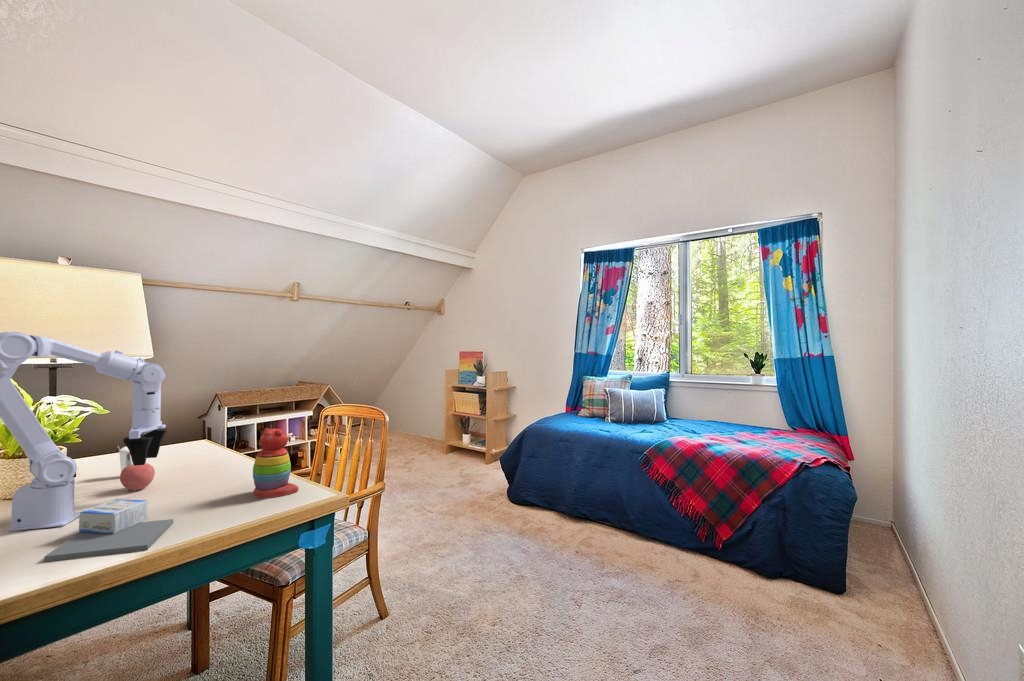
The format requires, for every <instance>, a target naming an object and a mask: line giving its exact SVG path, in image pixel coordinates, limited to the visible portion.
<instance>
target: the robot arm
mask: <svg viewBox="0 0 1024 681" xmlns="http://www.w3.org/2000/svg"><path fill="white" fill-rule="evenodd" d="M48 356H53V357H56V358H57V357H58V358H61V359H66V360H68V361H69V360H70V361H74V362H78V363H81V364H82V363H83V364H85V365H90V366H93V367H94V369H95V370H96V372H97V373H98V374H102V375H106V376H110V377H113V378H116V379H121V380H125V381H127V382H128V381H131V382H133V388H132V389H133V390H132V414H131V415H132V418H131V420H132V423H131V424H132V425H131V427H130V430H129V431H128V436H126V437H124V438H123V443H124V444H125V447H127V448H128V449H129V451H130V454H131V458H132V461H133V464H134V466H136V465H144V464H145V463H147V459H153V458H154V459H156V458H157V457H158V456H159V451H160V449H161V445H162V441H163V439H164V437H165V435H166V434H167V432H168V429H166V427H167V426H166V424H163V421H162V420H161V417H162V414H161V412H162V411H161V409H162V407H161V405H162V382H163V381H164V380H165V378H166V376H167V374H166V373H165V371H164V368H163V367H161V365H159V364H157V363H154V362H153V363H152V362H147V361H145V359H144V358H142V357H139V358H134V357H133V356H129V355H126V354H124V351H120V350H115V351H112V350H108V351H105V352H102V353H99V352H95V351H92V350H89V349H87V348H86V349H85V348H83V347H80V346H76V345H74V344H70V343H67V342H64V341H61V340H59V339H58V340H57V339H55V338H51V337H44V336H41V335H33V334H26V333H25V332H21V331H19V332H18V331H3V332H0V419H1V421H2V422H3V423H4V425H5V427H6V428H7V430H9V433H11V435H12V436H13V437H14V439H15V441H16V442H17V443H18V445H19V446H20V447H21V449H22V450H23V453H24V455H25V456H26V458H27V459H28V461H29V464H28V465H29V466H28V469H29V471H30V473H31V475H33V476H34V478H33V479H32V481H31V482H29V484H25V485H22V486H19V487H18V488H17V489H16V490H15V492H14V494H13V496H12V501H11V527H10V528H8V532H14V531H15V532H16V531H25V530H34V529H37V530H38V529H45V528H56V527H64V526H66V525H67V524H69V523H71V522H72V521H73V520H75V519H77V518H79V517H80V512H81V511H75V484H76V483H75V477H74V476H75V474H76V473H77V469H78V466H77V462H76V461H75V460H74V459H73V458H71V457H69V456H67V455H65V454H64V453H63V452H62V450H61V449H60V448H59V446H57V445H56V443H54V441H53V440H52V439H51V437H50V436H49V434H48V433H47V431H46V429H45V428H44V426H43V425H42V424H41V422H40V421H39V420H38V418H37V417H36V415H35V413H34V412H33V410H32V409H31V408H30V406H29V405H28V404H27V402H26V400H25V398H24V397H23V396H22V394H21V393H20V392H19V390H18V388H17V387H16V385H14V382H13V381H12V378H13V376H14V375H15V373H16V371H17V370H18V368H19V366H20V365H21V364H23V363H25V361H27V360H28V359H29V358H30V357H48Z"/></svg>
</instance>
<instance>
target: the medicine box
mask: <svg viewBox="0 0 1024 681" xmlns="http://www.w3.org/2000/svg"><path fill="white" fill-rule="evenodd" d="M79 512H80V516H78V518H79V519H78V520H79V521H78V531H79V532H90V533H111V534H114V533H117V532H119V531H122V530H124V529H126V528H128V527H131V526H133V525H135V524H137V523H140V522H145V521H146V520H148V518H149V514H148V513H149V501H148V499H127V498H126V499H125V498H124V499H123V498H122V499H119V498H117V499H113V500H110V501H107V502H105V503H102V504H101V503H100V504H99V505H97V506H93V507H91V508H87V509H85V510H81V511H79ZM79 532H78V533H79Z"/></svg>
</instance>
